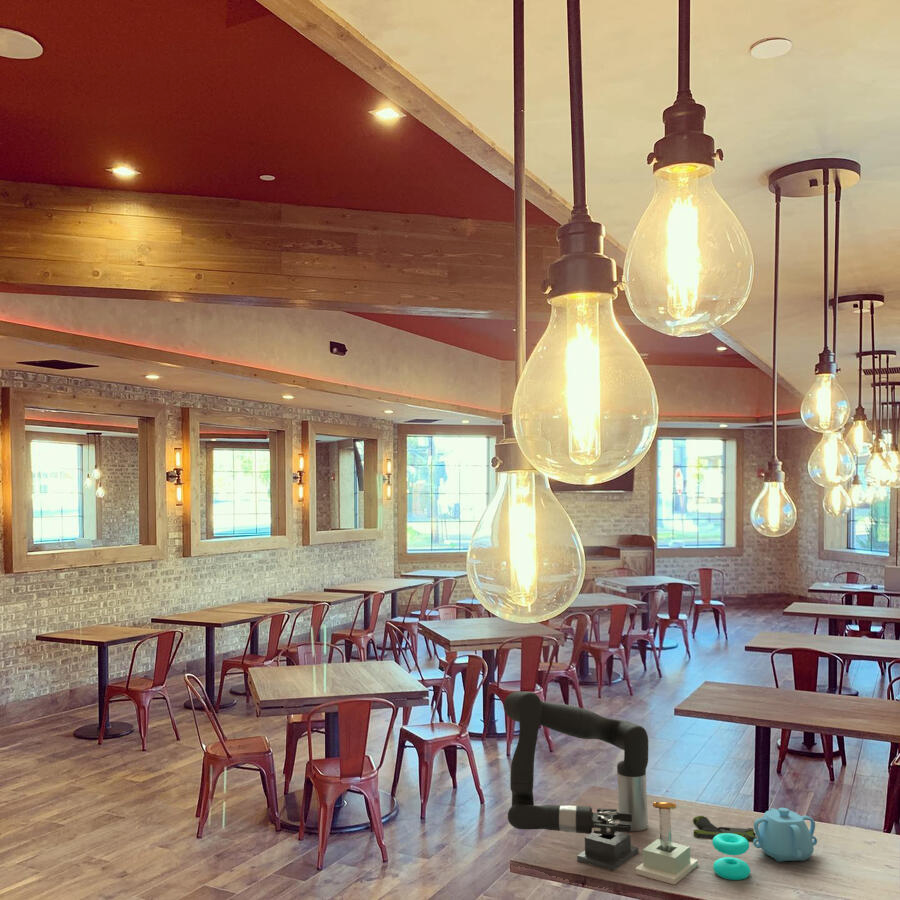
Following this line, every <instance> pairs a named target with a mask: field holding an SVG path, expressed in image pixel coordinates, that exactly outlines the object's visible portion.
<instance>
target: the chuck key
mask: <svg viewBox="0 0 900 900" xmlns="http://www.w3.org/2000/svg"><path fill="white" fill-rule="evenodd" d="M652 807H653V808H654V809H658V817H659V818H658V819H659V821H658V823H659V839H660V850H662V851H666V852H670V853H671V852H672V823H671V819H672V817H671V810H674V809H676V808H677V804H676V803H674V802H665V801H663V802H661V801H654V802H653V803H652Z"/></svg>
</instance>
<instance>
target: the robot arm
mask: <svg viewBox="0 0 900 900" xmlns="http://www.w3.org/2000/svg"><path fill="white" fill-rule="evenodd" d="M503 709H504V712H505V714H506V715H507V716H508V718H509V719H511V720H513V721H514V722H518V723H519V735H518V741H517V743H516V746H515V749H514V750H515V751H514V753H513V757H512V759H511V764H510V783H509V786H510V791H511V807H510V808H509V810H508V812H507V820H508V822H509V824H510V826H511V827H513V828H514V829H517V830H546V831H556V832H557V831H558V832H564V833H565V832H566V833H570V834H571V833H572V834H585V835H590V834H591V833H593V832H594V833H595V834H606V835H615V833H617V832H621V833H626V834H630V833H631V832H641V831H645V830H647V829H648V824H649V819H648V817H649V815H648V793H647V792H648V791H647V767H648V763H649V736H648V732H647V730H646V729H645V728H644V726H641V725H639V724H636V723H633V722H631V721H627V720H624V719H623V720H622V719H614V718H609V717H604V716H601V715H599V714H597V713H595V712H594V711H592V710H589V709H586V708H583V707H579V706H576V705H571V704H564V703H559V702H558V703H557V702H548V701H543V700H541V698H540V696H538V695H537V694H536V693H535V692H534V691H514V692H511V693H510V694H509V695H507V696H506V698H505V699H504V702H503ZM540 726H541V727H545V728H548V729H550V730H553V731H556V732H557V733H558V732H559V733H561V734H564V735H568V736H570V737H575V738H578V739H583V740H600V741H603V742H605V743H608V744H610V745H613V746H615V747H616V748H618V749H621V750H622V751H623V752H624V755H623V757H624V758H623V760H621V761H619V762H618V763H617V765H616V767H617V768H616V769H617V770H616V772H617V777H616V778H617V803H618V805H617V807H618V809H616V808H602V807H601V808H599V807H598V808H596V812H593V807H592V806H588V805H574V804H573V805H572V804H565V805H564V804H563V805H559V804H543V805H535V802H534V779H535V778H534V776H535V772H534V771H535V770H534V769H535V755H536V748H537V741H538V737H539V736H538V735H539V730H540V729H539V728H540ZM617 822H618V823H617Z"/></svg>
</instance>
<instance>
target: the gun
mask: <svg viewBox="0 0 900 900" xmlns="http://www.w3.org/2000/svg"><path fill="white" fill-rule="evenodd" d="M692 822H693V824H695V826H696V827H698V829H694V830H693V836H694V837H696V838H697V839H698V838H700V839H713V838H714V837H715V836H716V835H718V834H722V833H732V834H737V835H740V836H742V837H744V838H745V839H746V840H747V841H748V842H753V840H754V839H756V838H757V836H756V833H755V830H754V827H747V828H745V827H744V828H740V827H730V826H728V827H727V826H720V827H716V826H715V825H714V824H713V823H711V820H710V819H708V818H707V817H706V816H704V815H697V816H694V817H693V819H692Z"/></svg>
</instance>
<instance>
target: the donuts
mask: <svg viewBox="0 0 900 900" xmlns="http://www.w3.org/2000/svg"><path fill="white" fill-rule="evenodd" d="M711 841H712V846H713V847H714V849H715V850H717V851H718V852H720V853H721V854H724V855H727V857H720V858H718V859H716V860H715V861H714V863H713V866H712V867H713V871H714V872H715V874H716V875H717V876H719V877H721V878H723V879H727V880H731V881H739V880H740V881H741V880H744V879H746V878H748V877H749V876H750V874H751V868H750V866H749V865H748V863H746V862H745V861H744V860H742V859H740V858H737V857H734V856H739V855H740V856H741V855H743V854H745V853H747V851H749V849H750V843H749V841H747V840H746V839H745V838H744V837H742V836H740V835H737V834H732V833H722V834H718V835H716V836H715V837H714V838H712V840H711ZM730 856H731V857H730ZM732 856H733V857H732Z"/></svg>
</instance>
